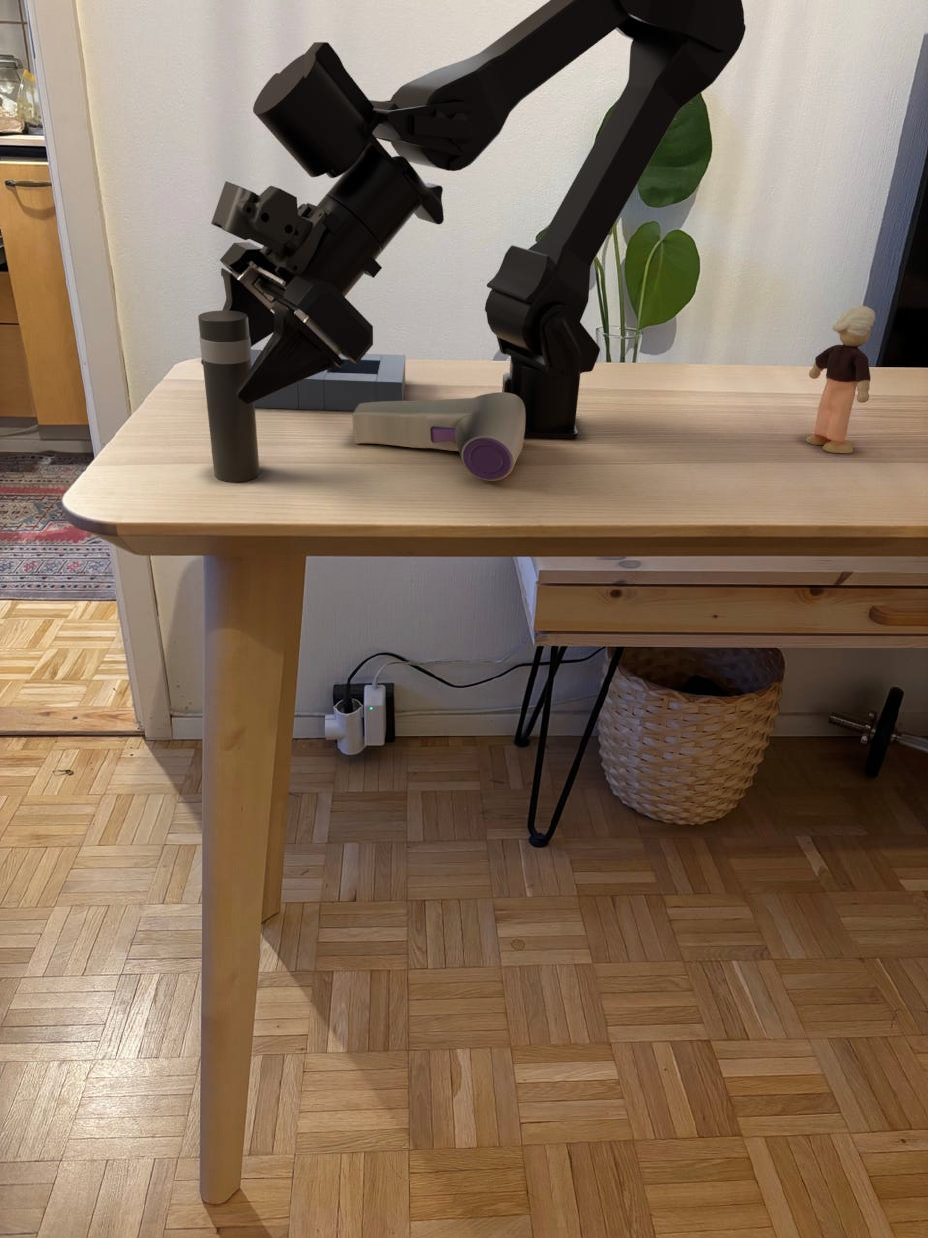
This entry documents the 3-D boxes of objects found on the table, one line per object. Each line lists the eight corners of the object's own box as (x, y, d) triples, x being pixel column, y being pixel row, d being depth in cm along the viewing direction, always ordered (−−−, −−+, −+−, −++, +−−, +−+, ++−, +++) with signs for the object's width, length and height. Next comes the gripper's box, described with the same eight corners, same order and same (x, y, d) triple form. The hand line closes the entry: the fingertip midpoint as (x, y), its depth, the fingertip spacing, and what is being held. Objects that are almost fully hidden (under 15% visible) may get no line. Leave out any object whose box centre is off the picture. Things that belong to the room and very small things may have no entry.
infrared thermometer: (364, 437, 86) (525, 439, 84) (336, 487, 76) (519, 489, 74) (360, 389, 84) (526, 389, 82) (331, 433, 73) (520, 434, 72)
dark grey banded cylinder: (263, 466, 77) (252, 310, 70) (256, 483, 73) (243, 322, 67) (218, 464, 76) (203, 309, 70) (209, 481, 73) (192, 320, 67)
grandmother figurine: (872, 453, 85) (912, 313, 79) (845, 460, 84) (883, 316, 77) (807, 428, 91) (839, 295, 85) (780, 434, 89) (810, 298, 83)
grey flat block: (405, 383, 99) (405, 354, 97) (401, 412, 90) (402, 382, 88) (240, 377, 98) (237, 348, 96) (220, 406, 89) (218, 375, 88)
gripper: (236, 130, 72) (109, 285, 72) (327, 150, 58) (169, 342, 59) (333, 235, 79) (217, 376, 80) (434, 276, 65) (293, 445, 66)
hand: (222, 382), depth 71 cm, fingers open, 9 cm apart
